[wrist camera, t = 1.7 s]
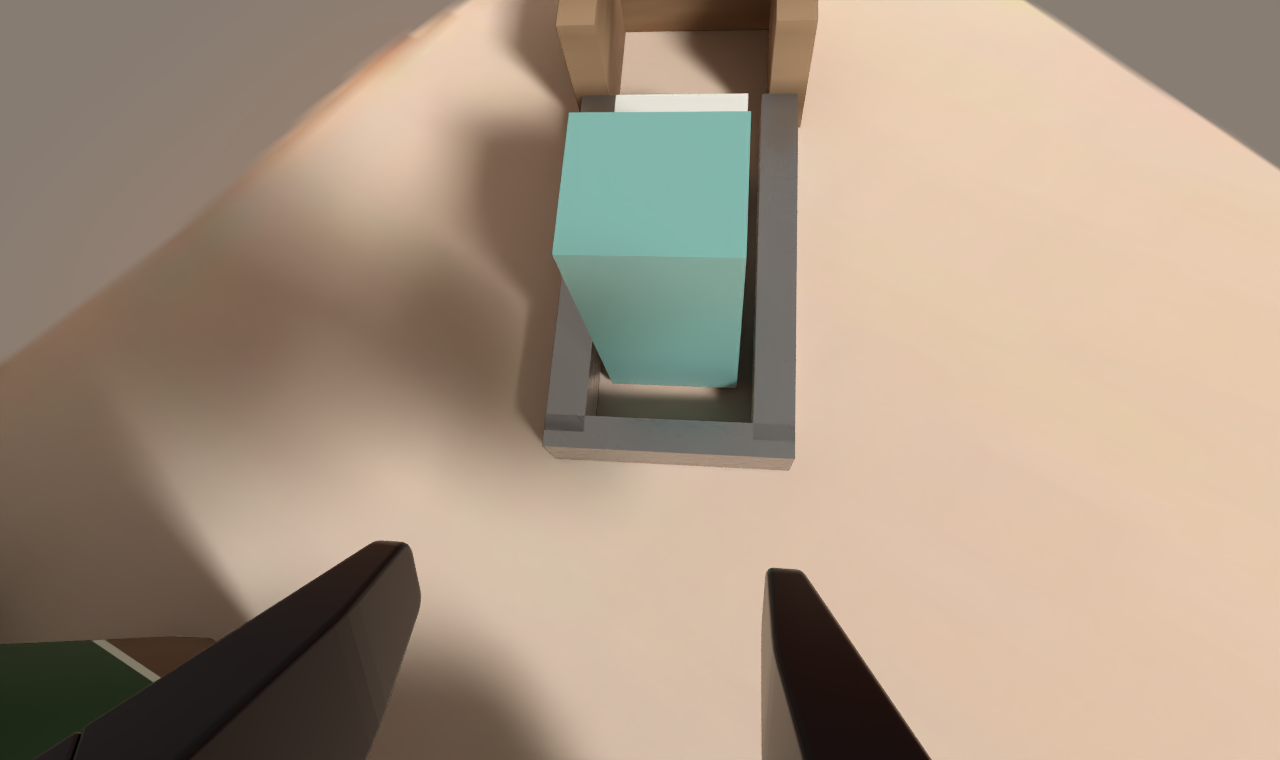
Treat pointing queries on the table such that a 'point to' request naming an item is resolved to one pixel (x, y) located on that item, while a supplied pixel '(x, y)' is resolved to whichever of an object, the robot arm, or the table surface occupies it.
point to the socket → (617, 3)
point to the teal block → (658, 234)
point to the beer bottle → (76, 685)
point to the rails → (774, 342)
